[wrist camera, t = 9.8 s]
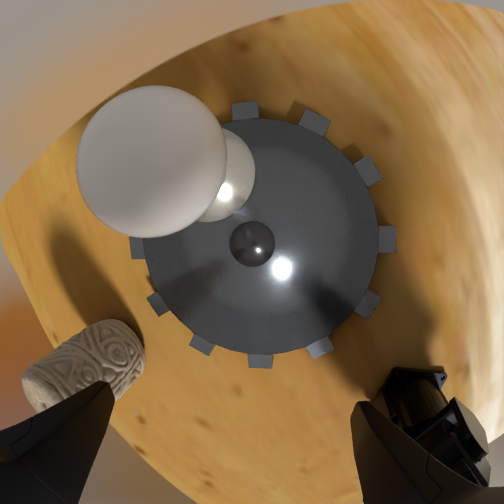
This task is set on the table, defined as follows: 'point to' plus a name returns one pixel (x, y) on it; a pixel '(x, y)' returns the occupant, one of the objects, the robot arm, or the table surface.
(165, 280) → the sprocket plate
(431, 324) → the table surface
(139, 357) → the carving
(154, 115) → the lightbulb
